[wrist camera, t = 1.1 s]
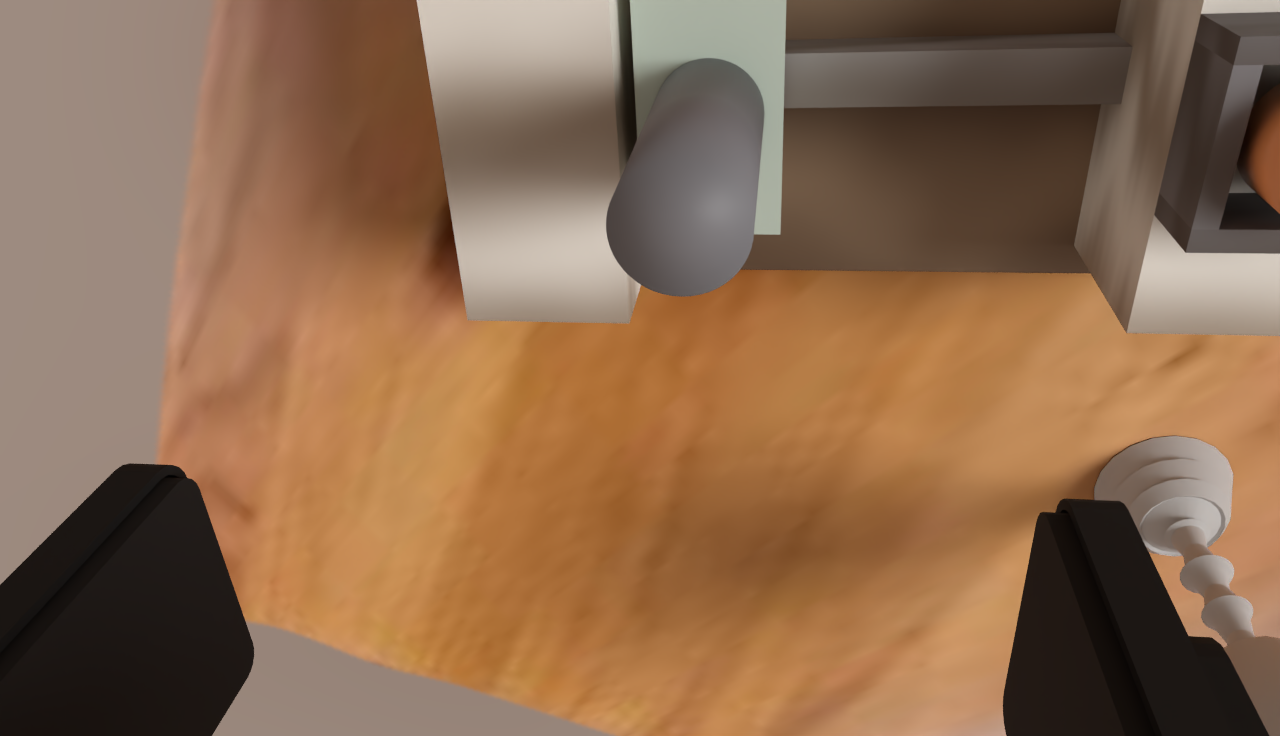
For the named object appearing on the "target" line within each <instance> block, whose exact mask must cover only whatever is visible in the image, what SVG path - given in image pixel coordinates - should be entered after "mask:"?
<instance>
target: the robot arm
mask: <svg viewBox="0 0 1280 736" xmlns="http://www.w3.org/2000/svg"><path fill="white" fill-rule="evenodd" d="M253 659H254V647H253V642H252V639H251V637H250V633H249V631H248V628H247V625H246V622H245V619H244V616H243V613H242V610H241V607H240V605H239V602H238V599H237V596H236V593H235V590H234V587H233V584H232V581H231V579H230V576H229V573H228V570H227V567H226V564H225V561H224V558H223V555H222V553H221V550H220V547H219V544H218V541H217V538H216V535H215V532H214V530H213V527H212V524H211V521H210V518H209V515H208V512H207V509H206V506H205V504H204V501H203V498H202V495H201V492H200V489H199V487H198V485H197V483H196V482H195V481H193V480H192V479H189V478H187V477H186V475H185V473H184V472H183V471H182V470H181V469H180V468H179V467H177V466H173V465H155V464H126V465H122V466H121V467H119V468H118V469H117V470H115V471H114V472H113V473H112V474H111V475H110V476H109V477H108V478H107V479H106V480H105V481H104V482H103V483H102V484H101V485H100V486H99V487H98V488H97V489H96V490H95V491H94V492H93V493H92V494H91V495H90V496H89V497H88V498H87V499H86V500H85V501H84V502H83V503H82V504H81V505H80V506H79V507H78V508H77V509H76V510H75V511H74V512H73V513H72V514H71V515H70V516H69V517H68V518H67V519H66V520H65V521H64V522H63V523H62V524H61V525H60V526H59V527H58V528H57V529H56V530H55V531H54V532H53V533H52V534H51V535H50V536H49V537H48V538H47V539H46V540H45V541H44V542H43V543H42V544H41V545H40V546H39V547H38V548H37V549H36V550H35V551H34V552H33V553H32V554H31V555H30V556H29V557H28V558H27V559H26V560H25V561H24V562H23V563H22V564H21V565H20V566H19V567H18V568H17V569H16V570H15V571H14V572H13V573H12V574H11V575H10V576H9V577H8V578H7V579H6V580H5V581H4V582H3V583H2V584H1V585H0V736H212V734H213V733H214V731H215V730H216V728H217V726H218V725H219V723H220V721H221V720H222V718H223V717H224V715H225V713H226V712H227V710H228V708H229V707H230V705H231V704H232V702H233V700H234V699H235V697H236V696H237V694H238V692H239V691H240V689H241V687H242V686H243V684H244V682H245V681H246V679H247V678H248V675H249V673H250V671H251V668H252V665H253ZM1003 716H1004V725H1005V731H1006V735H1007V736H1269V734H1268V732H1267V730H1266V728H1265V726H1264V724H1263V722H1262V720H1261V718H1260V716H1259V714H1258V712H1257V710H1256V708H1255V707H1254V705H1253V703H1252V701H1251V699H1250V697H1249V695H1248V693H1247V691H1246V689H1245V687H1244V685H1243V683H1242V681H1241V679H1240V677H1239V675H1238V673H1237V671H1236V669H1235V667H1234V665H1233V664H1232V662H1231V660H1230V658H1229V656H1228V655H1227V653H1226V652H1225V650H1224V649H1223V647H1222V646H1221V644H1219V643H1218V642H1217V641H1215V640H1214V639H1213V638H1210V637H1192V636H1188V634H1187V632H1186V630H1185V628H1184V626H1183V624H1182V622H1181V619H1180V617H1179V615H1178V613H1177V611H1176V609H1175V607H1174V605H1173V603H1172V601H1171V598H1170V596H1169V594H1168V592H1167V590H1166V588H1165V586H1164V584H1163V582H1162V580H1161V577H1160V575H1159V573H1158V571H1157V569H1156V567H1155V565H1154V563H1153V561H1152V559H1151V556H1150V554H1149V552H1148V550H1147V548H1146V546H1145V544H1144V542H1143V540H1142V537H1141V535H1140V533H1139V531H1138V529H1137V527H1136V525H1135V523H1134V521H1133V519H1132V516H1131V514H1130V512H1129V510H1128V509H1127V507H1126V506H1125V504H1124V503H1122V502H1121V501H1108V500H1082V499H1063V500H1061V501H1060V502H1059V504H1058V506H1057V509H1056V513H1051V512H1042V513H1040V515H1039V516H1038V519H1037V523H1036V527H1035V533H1034V538H1033V543H1032V548H1031V553H1030V559H1029V564H1028V569H1027V574H1026V580H1025V585H1024V590H1023V595H1022V601H1021V606H1020V611H1019V616H1018V621H1017V627H1016V632H1015V637H1014V642H1013V648H1012V653H1011V658H1010V663H1009V668H1008V674H1007V679H1006V684H1005V689H1004V696H1003Z"/></svg>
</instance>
